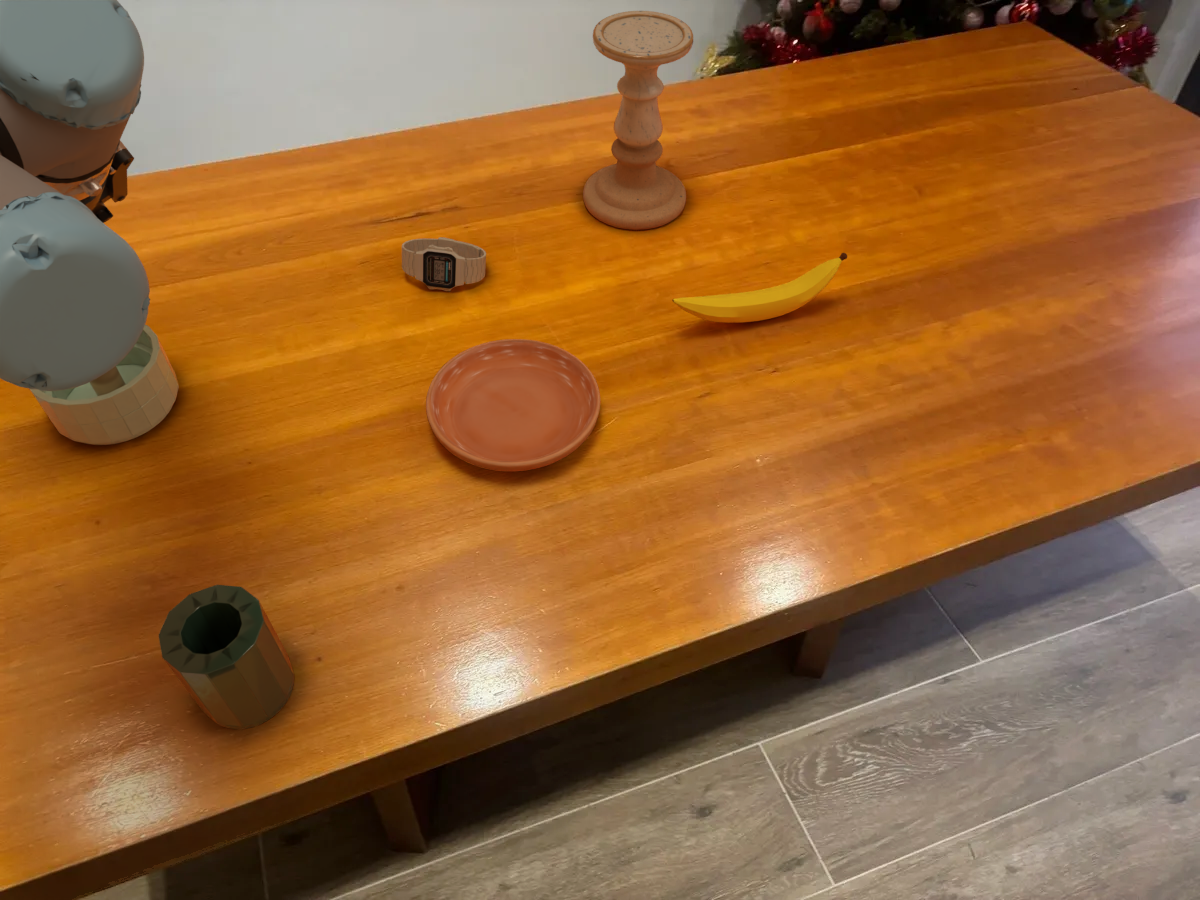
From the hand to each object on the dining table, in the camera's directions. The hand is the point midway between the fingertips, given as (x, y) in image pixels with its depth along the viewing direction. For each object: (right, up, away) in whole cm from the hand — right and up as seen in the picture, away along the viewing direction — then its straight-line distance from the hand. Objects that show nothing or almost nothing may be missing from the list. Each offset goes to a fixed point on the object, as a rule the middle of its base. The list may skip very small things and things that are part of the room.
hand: (21, 258), depth 75 cm
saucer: (+40, -13, +10) cm, 43 cm away
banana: (+64, -2, +20) cm, 67 cm away
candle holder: (+52, +14, +33) cm, 63 cm away
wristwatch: (+31, +3, +24) cm, 39 cm away
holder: (+22, -34, -7) cm, 41 cm away
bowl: (+2, -12, +11) cm, 16 cm away
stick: (+2, -11, +10) cm, 15 cm away
